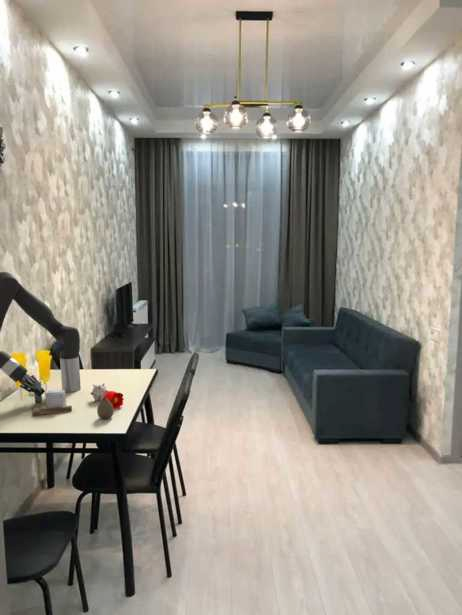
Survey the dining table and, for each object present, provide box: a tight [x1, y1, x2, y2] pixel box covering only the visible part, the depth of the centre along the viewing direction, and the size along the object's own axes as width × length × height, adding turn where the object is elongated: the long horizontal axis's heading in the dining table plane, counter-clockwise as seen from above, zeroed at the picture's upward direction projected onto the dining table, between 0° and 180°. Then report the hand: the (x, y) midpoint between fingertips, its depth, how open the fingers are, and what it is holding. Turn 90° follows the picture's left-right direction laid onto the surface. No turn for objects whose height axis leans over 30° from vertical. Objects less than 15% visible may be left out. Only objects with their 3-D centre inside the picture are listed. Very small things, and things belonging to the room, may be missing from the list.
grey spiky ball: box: [90, 383, 109, 403], centre depth 242 cm, size 9×8×10 cm
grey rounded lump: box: [96, 398, 115, 421], centre depth 218 cm, size 7×7×9 cm
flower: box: [103, 390, 125, 410], centre depth 233 cm, size 8×8×8 cm
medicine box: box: [44, 389, 67, 409], centre depth 230 cm, size 8×4×9 cm, turn 89°
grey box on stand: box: [33, 381, 73, 416], centre depth 233 cm, size 18×17×10 cm
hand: (42, 394), depth 238 cm, fingers closed on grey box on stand, 3 cm apart
